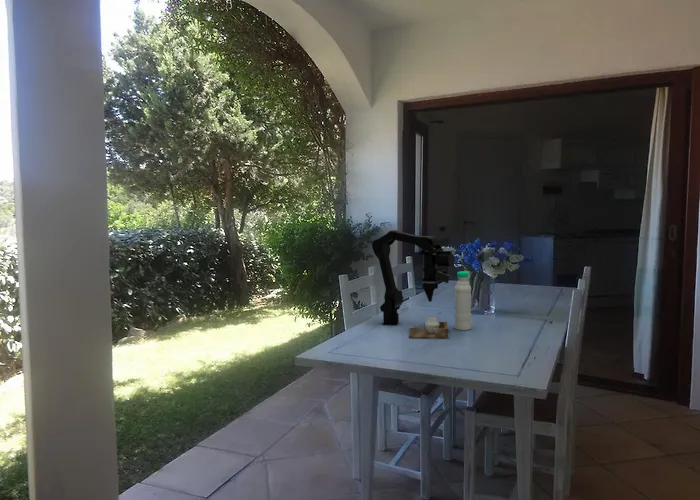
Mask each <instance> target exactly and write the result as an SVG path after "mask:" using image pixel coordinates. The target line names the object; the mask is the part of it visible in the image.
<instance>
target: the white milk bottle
mask: <svg viewBox="0 0 700 500" xmlns="http://www.w3.org/2000/svg"><path fill="white" fill-rule="evenodd" d="M468 278H469V272H468V271H462V270H461V271H457V279H458V280H457V281H456V283H455V286H454V328H455V329H456V330H458V331H470V330H471V328H472V321H471V320H472V313H471V312H472V293H471V292H472V287H471V285H470V281H468Z"/></svg>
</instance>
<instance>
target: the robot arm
mask: <svg viewBox="0 0 700 500" xmlns="http://www.w3.org/2000/svg"><path fill="white" fill-rule="evenodd" d="M395 241H397V242H402V243H407V244H411V245H414V246H416V247H418V248H420V249H422V250H421V251H419V252H418V255H419V256H422V260H423V261H422V264H423V268H422V269H423V271H422V273H423V276H422V289H423V290H424V293H425V295H426V298H427V300H428V302H432V301H433V295H434V291H435V290H436V289H439V283H438V281H442V282H444V283H445V284H449V281H450V278H451V275H450V274H449V273H448V271H447V270H444V269H443V270H442V271H439V270H438V267H444V268H445V267H446V268H447V267H448V268H452V267H454V265H455V261H456V260H455V256H454V253H453V250H444V248H443V247H442V246H441V244H440V241H439V239H438V237H436V236H435V235H434V236H433V235H417V234H412V233H407V232H403V231H398V230H396V229H394V230H389V231H388V232H387V233H386V234H383V235H382V236H381V237H379V238H377V239H374V240H373V242H372V243H371V248H372V251H373V253H374V256H376V258H377V259H378V261H379V262H378V263H379V266H380V271H381V275H382V278H383V283H384V289H385V290H384V295H383V296H384V297H383V298H384V299H383V300H384V302H383V303H382V304H381V305H380V306H379V309H380V311H381V312H382V313H383V315H382V316H383V323H382V325H383V326H398V324H399V319H400V317H399V314H400V313H399V312H398V310H400V309H401V306H402V305H403V303H404V299H405V298H404V296H403V291H402V290H399V289H398V288H397V286H396V281H395V278H394V273H393V272H394V271H393V268H392V263H391V260H390V256H391V255H390V254H391V245H393V244H394V243H395Z"/></svg>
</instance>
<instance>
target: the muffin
mask: <svg viewBox="0 0 700 500" xmlns="http://www.w3.org/2000/svg"><path fill="white" fill-rule="evenodd" d="M439 322H440V321H438V320H437V318H436V316H433V315H432V316H431V315H430V316H428V317H427V320H426V321H425V322H424V326H425V328H426V329H427V331H428V333H435V328H439V325H440V324H439Z"/></svg>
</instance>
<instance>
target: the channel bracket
mask: <svg viewBox="0 0 700 500" xmlns="http://www.w3.org/2000/svg"><path fill="white" fill-rule="evenodd" d="M438 322H439V324H440V325H439V328H435V333H428V331H427V329H426V327H409V328H408V329H409V330H408V339H417V340H418V339H423V340H425V339H428V340H431V339H432V340H433V339H435V340H449V326H448V322H447V321H438Z"/></svg>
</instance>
